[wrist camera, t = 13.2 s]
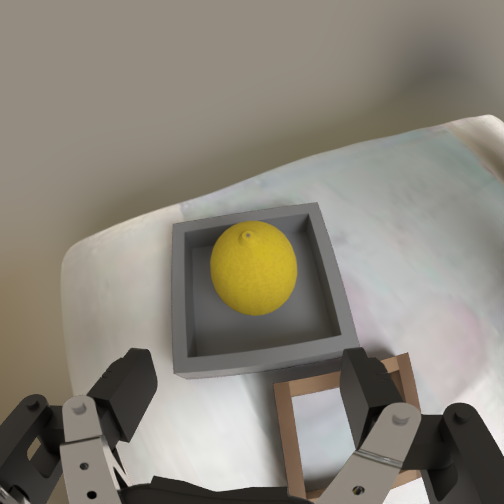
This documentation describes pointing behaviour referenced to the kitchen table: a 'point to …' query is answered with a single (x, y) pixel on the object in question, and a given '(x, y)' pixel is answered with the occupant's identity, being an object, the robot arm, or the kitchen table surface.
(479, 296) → the kitchen table surface
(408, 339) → the kitchen table surface
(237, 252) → the lemon
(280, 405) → the wooden square frame
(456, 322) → the kitchen table surface
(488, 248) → the kitchen table surface
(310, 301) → the charcoal tray
